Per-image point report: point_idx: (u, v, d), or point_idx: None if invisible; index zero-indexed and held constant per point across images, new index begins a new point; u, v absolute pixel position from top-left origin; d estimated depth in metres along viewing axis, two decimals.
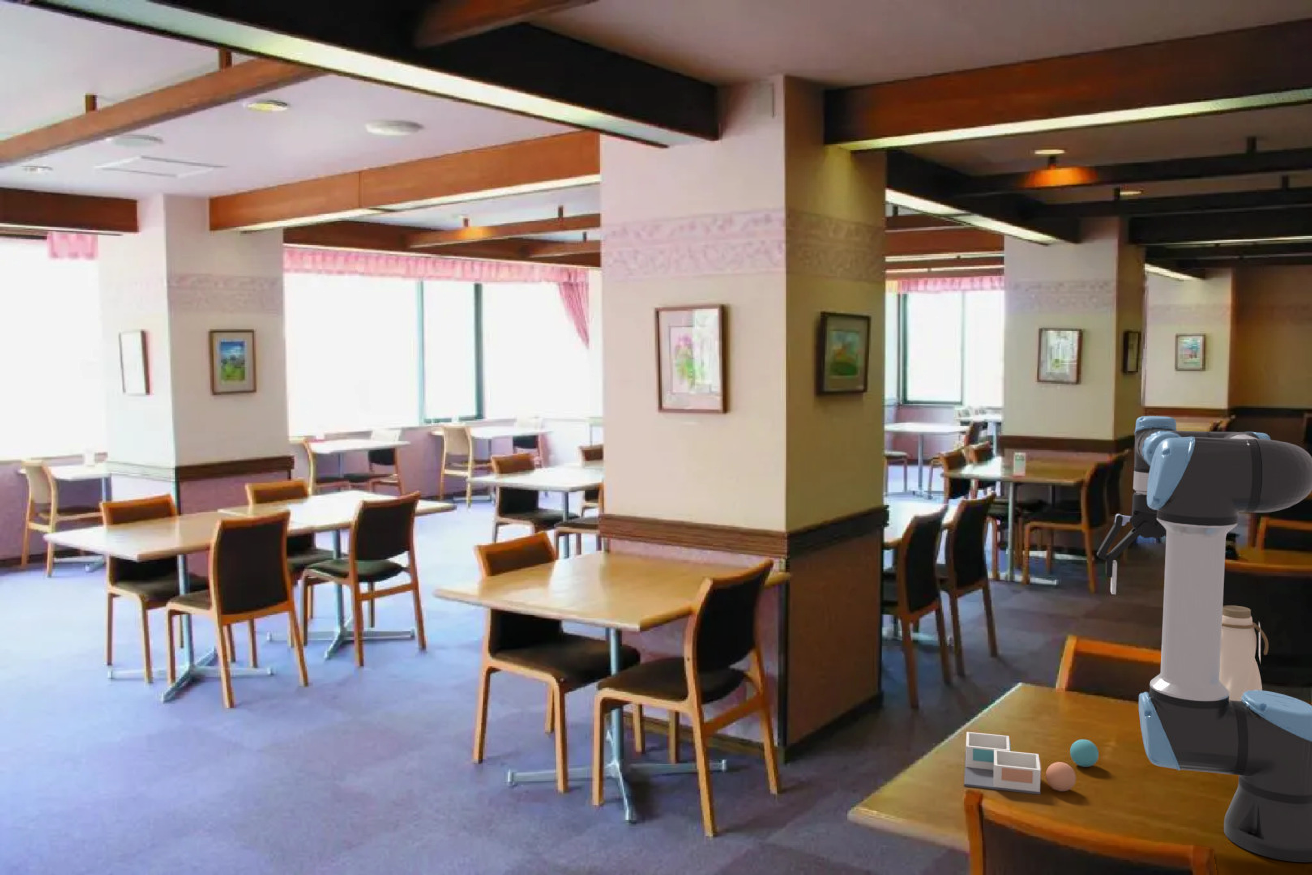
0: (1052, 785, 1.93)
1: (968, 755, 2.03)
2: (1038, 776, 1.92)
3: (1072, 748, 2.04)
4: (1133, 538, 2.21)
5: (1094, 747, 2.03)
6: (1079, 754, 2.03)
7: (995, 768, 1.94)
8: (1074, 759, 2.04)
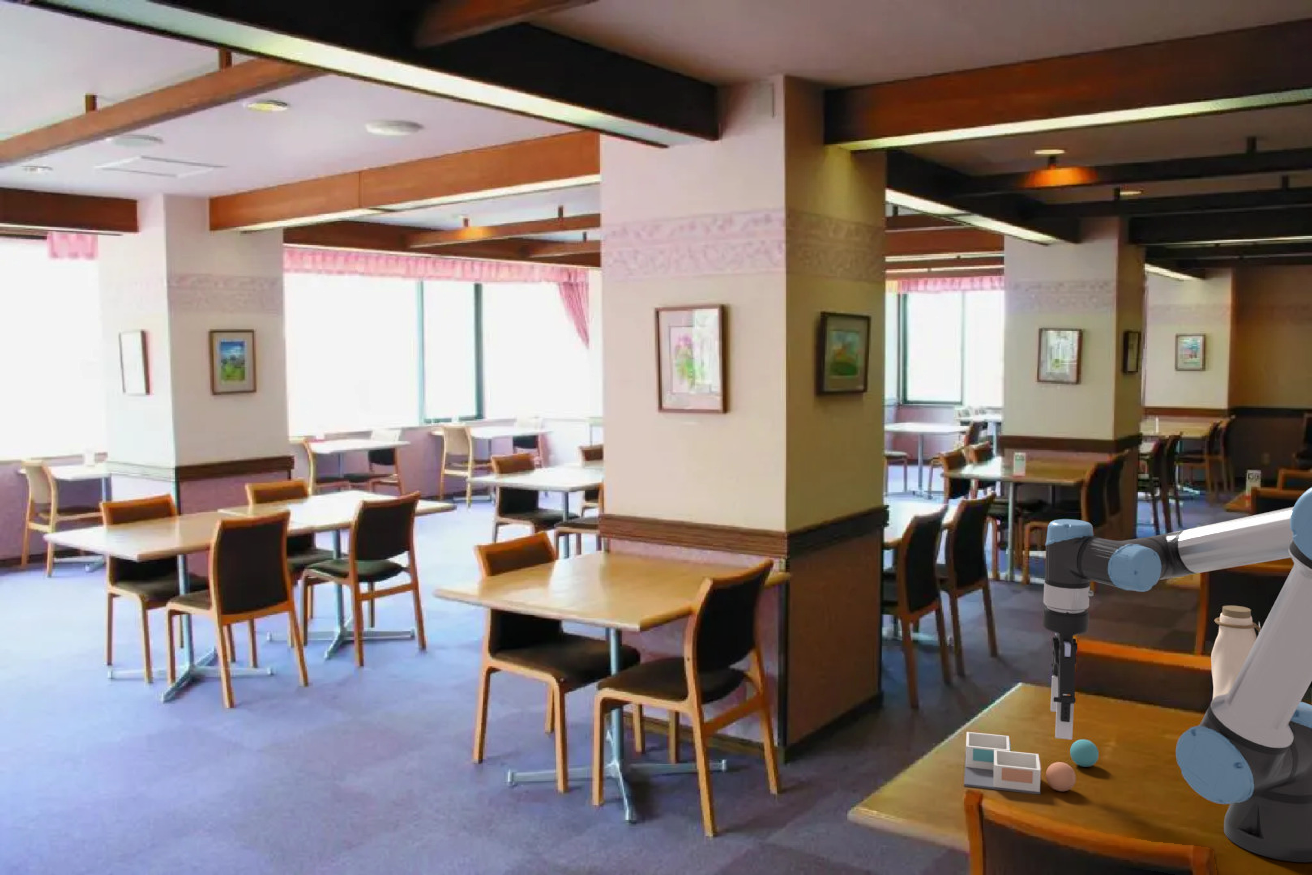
0: (1052, 785, 1.93)
1: (968, 755, 2.03)
2: (1038, 776, 1.92)
3: (1072, 748, 2.04)
4: None
5: (1094, 747, 2.03)
6: (1079, 754, 2.03)
7: (995, 768, 1.94)
8: (1074, 759, 2.04)
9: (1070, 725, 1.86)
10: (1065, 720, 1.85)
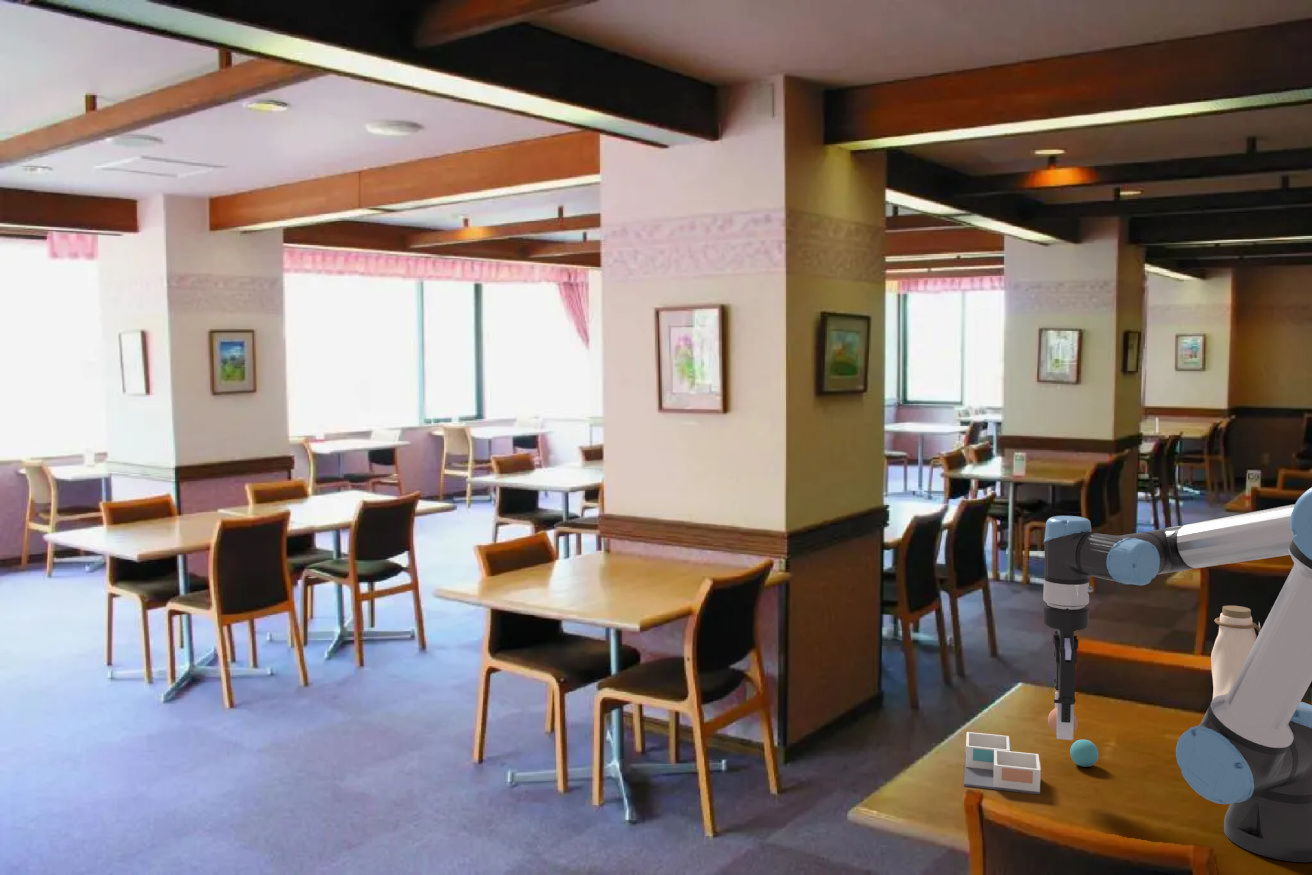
0: (1054, 729, 1.91)
1: (968, 755, 2.03)
2: (1038, 776, 1.92)
3: (1072, 748, 2.04)
4: None
5: (1094, 747, 2.03)
6: (1079, 754, 2.03)
7: (995, 768, 1.94)
8: (1074, 759, 2.04)
9: (1070, 726, 1.89)
10: (1066, 721, 1.88)
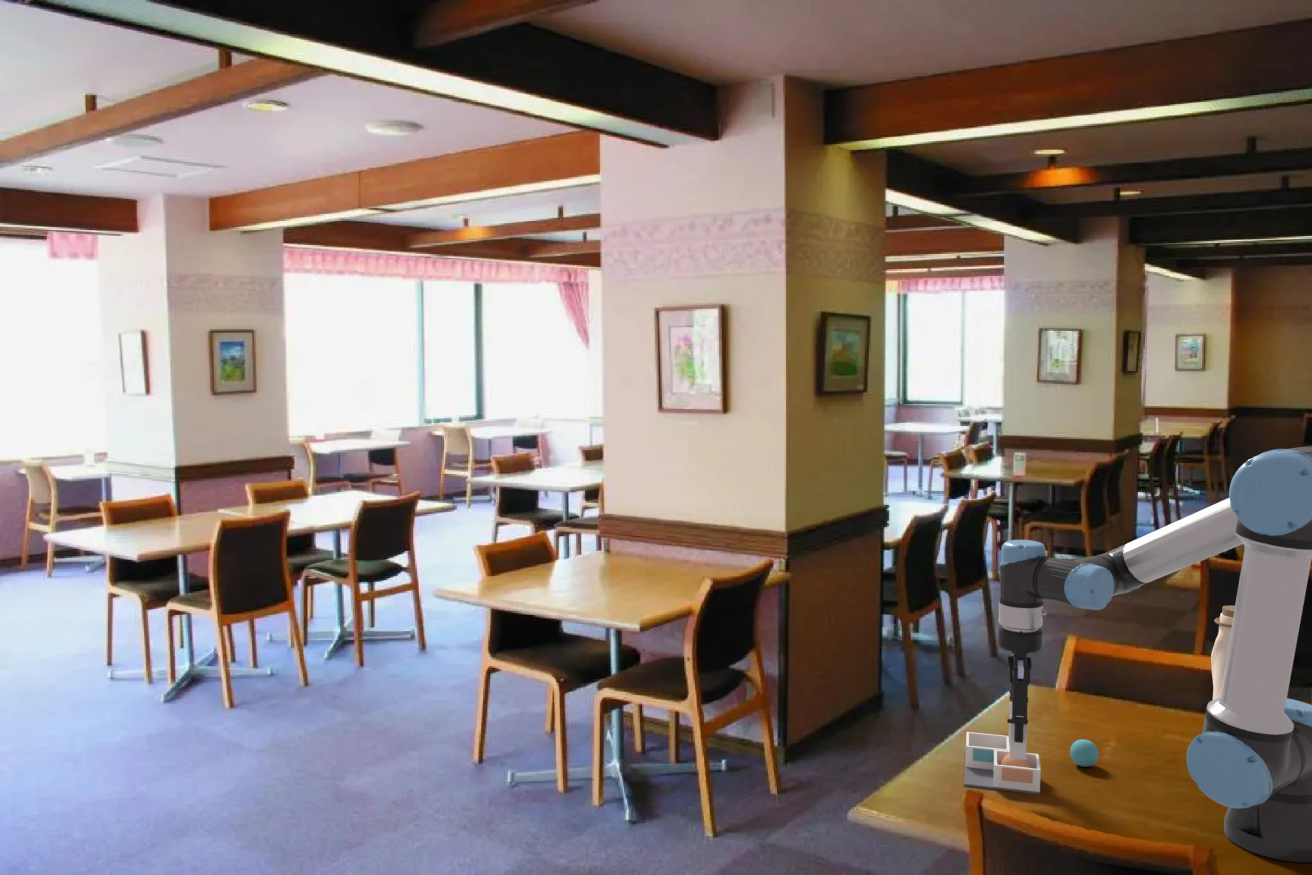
0: None
1: (968, 755, 2.03)
2: (1038, 776, 1.92)
3: (1072, 748, 2.04)
4: None
5: (1094, 747, 2.03)
6: (1079, 754, 2.03)
7: (995, 768, 1.94)
8: (1074, 759, 2.04)
9: (1023, 746, 1.91)
10: (1019, 741, 1.90)
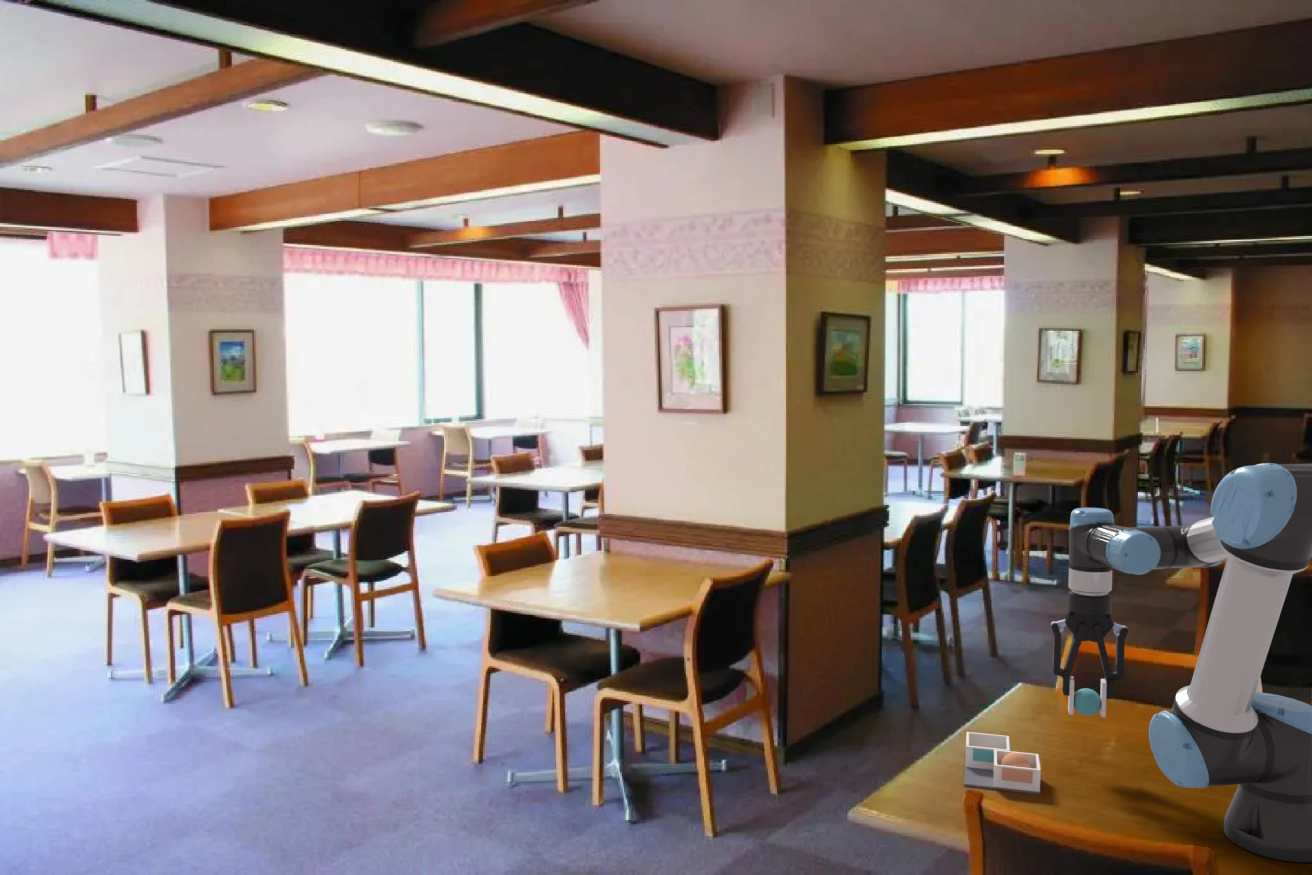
0: None
1: (968, 755, 2.03)
2: (1038, 776, 1.92)
3: (1075, 697, 2.03)
4: (1077, 645, 2.02)
5: (1097, 695, 2.02)
6: (1081, 702, 2.02)
7: (995, 768, 1.94)
8: (1077, 708, 2.03)
9: None
10: None
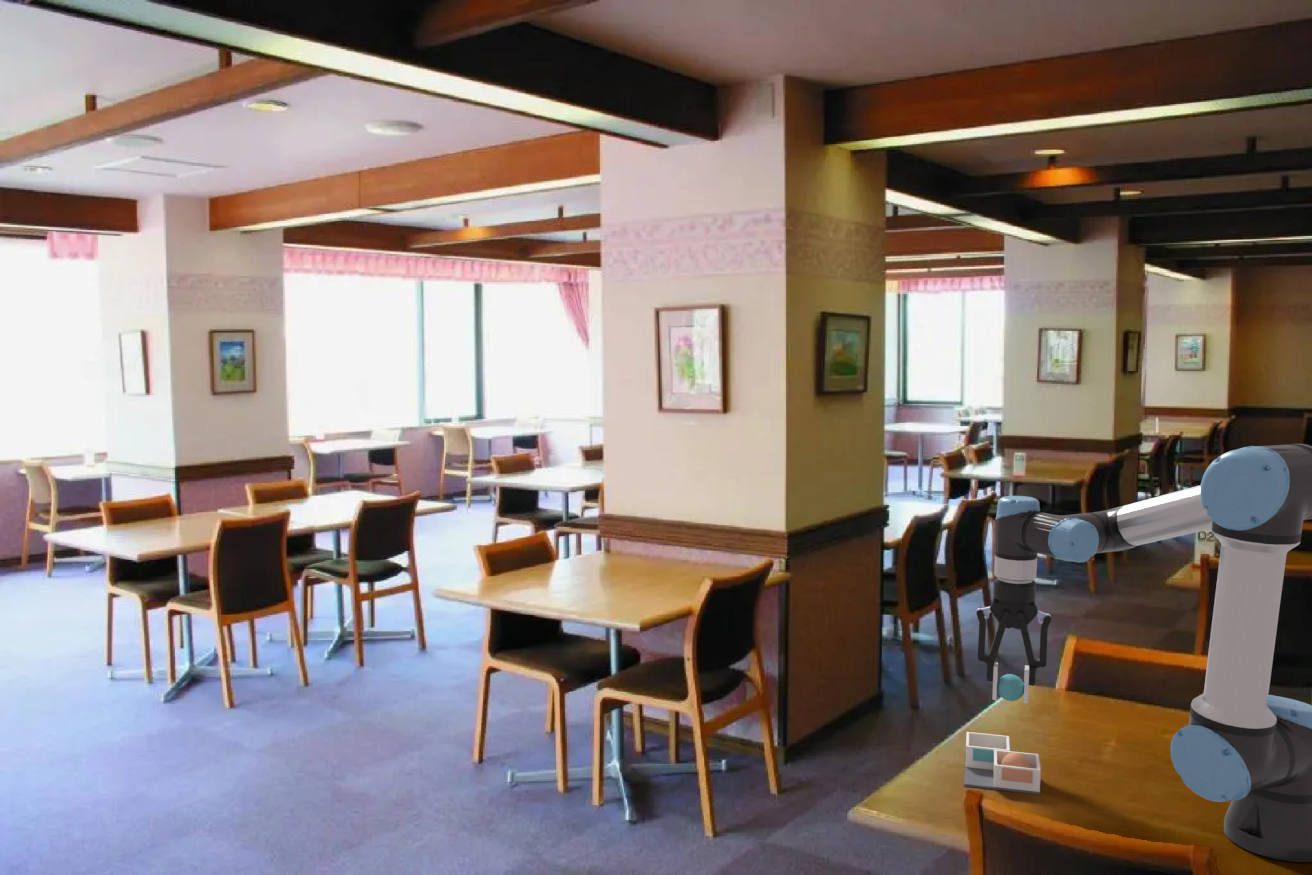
0: None
1: (968, 755, 2.03)
2: (1038, 776, 1.92)
3: (998, 682, 2.05)
4: (1001, 632, 2.03)
5: (1020, 682, 2.04)
6: (1004, 688, 2.04)
7: (995, 768, 1.94)
8: (1000, 693, 2.05)
9: None
10: (1034, 683, 2.04)
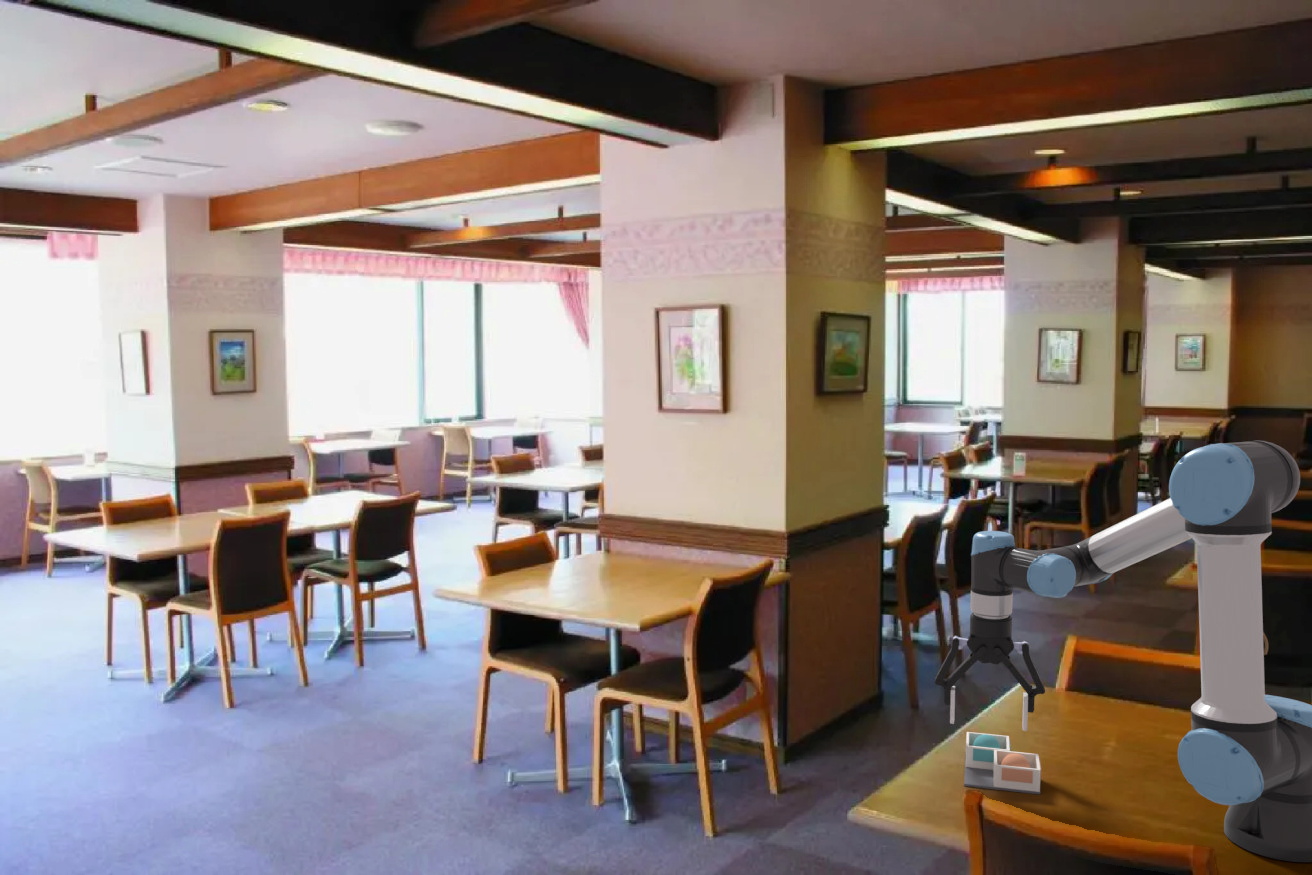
0: None
1: (968, 755, 2.03)
2: (1038, 776, 1.92)
3: (974, 744, 2.06)
4: (970, 663, 2.04)
5: (994, 741, 2.05)
6: None
7: (995, 768, 1.94)
8: None
9: None
10: None
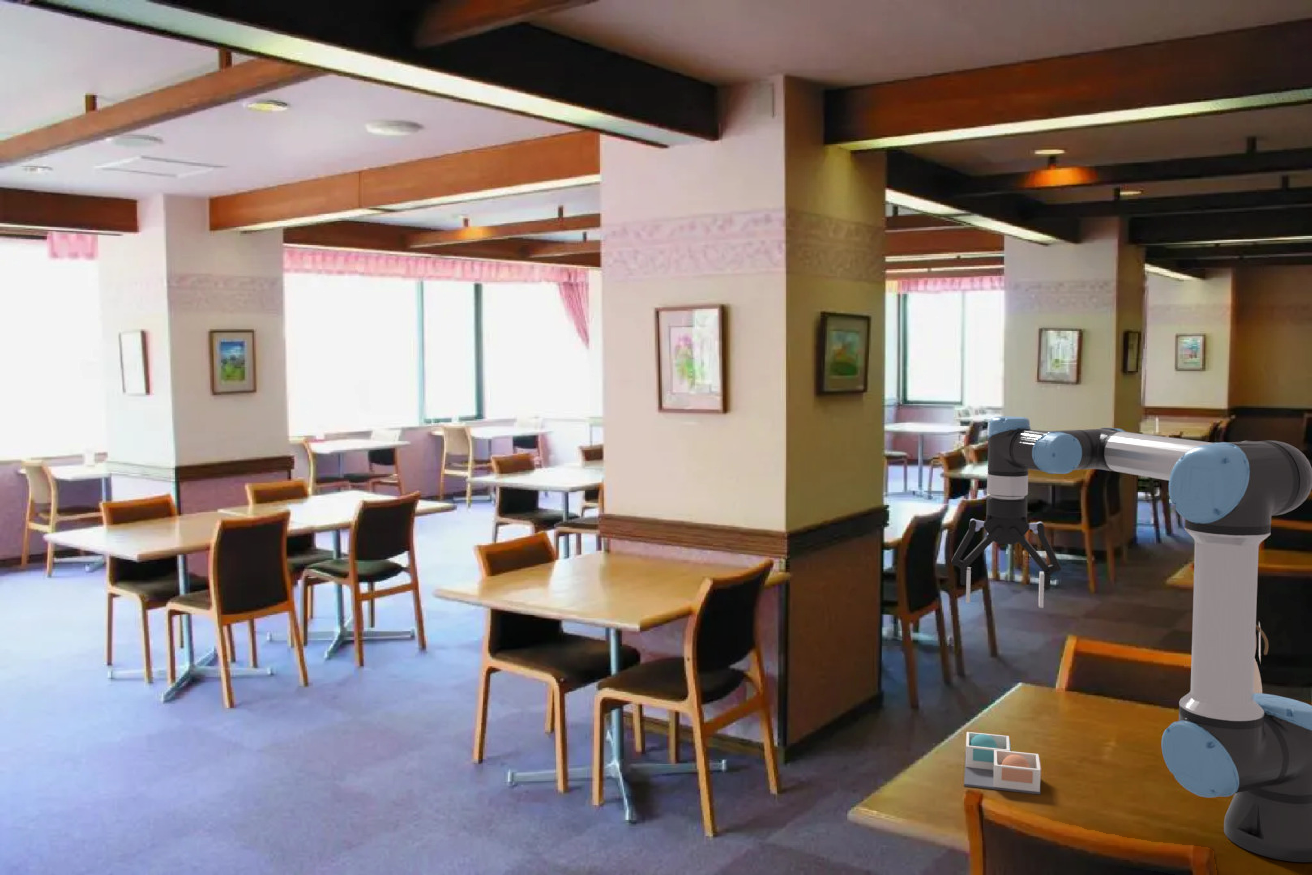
0: None
1: (968, 755, 2.03)
2: (1038, 776, 1.92)
3: None
4: (986, 544, 2.11)
5: (989, 739, 2.05)
6: None
7: (995, 768, 1.94)
8: None
9: None
10: None
